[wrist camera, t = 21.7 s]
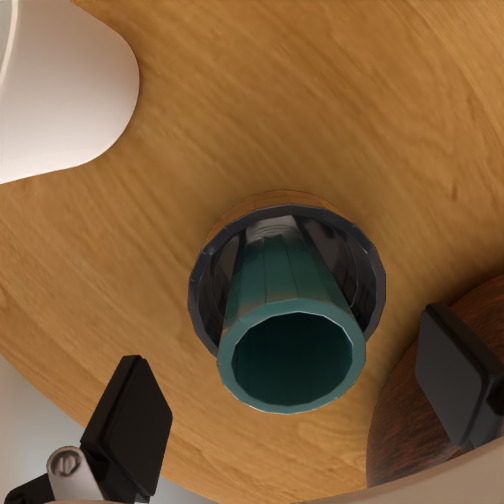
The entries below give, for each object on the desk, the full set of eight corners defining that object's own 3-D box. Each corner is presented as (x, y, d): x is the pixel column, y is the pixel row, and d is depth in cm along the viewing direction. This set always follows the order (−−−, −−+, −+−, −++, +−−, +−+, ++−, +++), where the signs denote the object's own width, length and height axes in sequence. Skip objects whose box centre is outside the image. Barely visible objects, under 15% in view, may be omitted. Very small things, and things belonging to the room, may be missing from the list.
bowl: (223, 343, 20) (215, 391, 16) (186, 205, 17) (164, 226, 13) (361, 320, 19) (384, 362, 15) (350, 177, 16) (380, 189, 12)
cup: (243, 318, 19) (235, 421, 11) (224, 237, 17) (199, 313, 9) (327, 303, 18) (364, 400, 11) (318, 220, 17) (365, 284, 9)
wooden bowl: (441, 186, 16) (571, 236, 7) (585, 279, 18) (644, 322, 9) (297, 458, 24) (307, 554, 14) (473, 453, 26) (501, 509, 16)
